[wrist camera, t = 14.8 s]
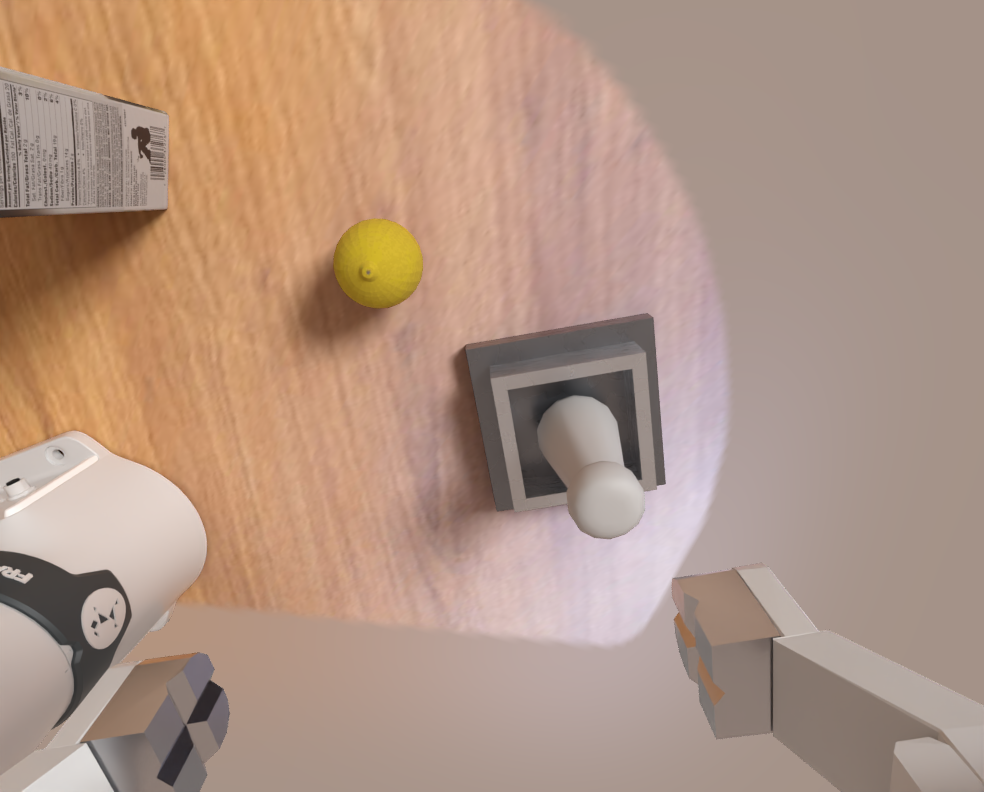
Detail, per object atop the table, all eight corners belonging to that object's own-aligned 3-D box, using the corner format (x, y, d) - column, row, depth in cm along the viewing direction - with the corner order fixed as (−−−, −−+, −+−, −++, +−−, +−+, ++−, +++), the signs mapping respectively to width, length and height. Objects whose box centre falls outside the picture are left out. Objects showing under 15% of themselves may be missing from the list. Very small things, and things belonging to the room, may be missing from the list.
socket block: (496, 501, 47) (498, 532, 42) (465, 344, 42) (464, 361, 38) (659, 475, 46) (678, 503, 42) (647, 313, 42) (666, 326, 37)
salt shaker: (592, 465, 44) (636, 569, 32) (523, 444, 43) (541, 543, 31) (622, 398, 42) (681, 482, 30) (550, 375, 41) (581, 451, 29)
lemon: (397, 311, 41) (379, 338, 34) (333, 262, 40) (300, 279, 32) (443, 251, 40) (435, 265, 32) (379, 198, 38) (355, 200, 31)
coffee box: (30, 185, 38) (-272, 180, 22) (23, 78, 36) (-317, -7, 20) (171, 213, 38) (-29, 226, 23) (172, 110, 36) (-48, 51, 21)
